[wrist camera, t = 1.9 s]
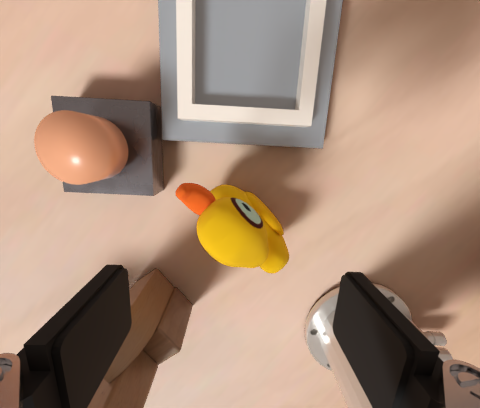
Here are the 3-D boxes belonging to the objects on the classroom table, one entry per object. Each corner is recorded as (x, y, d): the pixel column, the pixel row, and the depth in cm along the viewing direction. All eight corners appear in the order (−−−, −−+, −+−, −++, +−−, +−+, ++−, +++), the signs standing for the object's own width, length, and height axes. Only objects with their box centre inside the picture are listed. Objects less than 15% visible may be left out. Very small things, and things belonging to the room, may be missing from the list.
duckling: (180, 191, 24) (142, 222, 14) (215, 154, 23) (200, 159, 13) (257, 260, 26) (269, 328, 16) (291, 228, 25) (326, 279, 15)
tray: (350, -111, 18) (372, -160, 15) (317, 148, 23) (329, 148, 20) (160, -127, 18) (145, -181, 15) (167, 140, 23) (156, 139, 20)
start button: (126, 118, 18) (105, 112, 15) (130, 180, 19) (111, 186, 16) (62, 114, 18) (28, 108, 15) (70, 177, 19) (40, 183, 16)
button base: (161, 107, 22) (149, 101, 19) (163, 189, 24) (153, 195, 21) (75, 102, 22) (50, 95, 19) (85, 186, 24) (64, 191, 21)
